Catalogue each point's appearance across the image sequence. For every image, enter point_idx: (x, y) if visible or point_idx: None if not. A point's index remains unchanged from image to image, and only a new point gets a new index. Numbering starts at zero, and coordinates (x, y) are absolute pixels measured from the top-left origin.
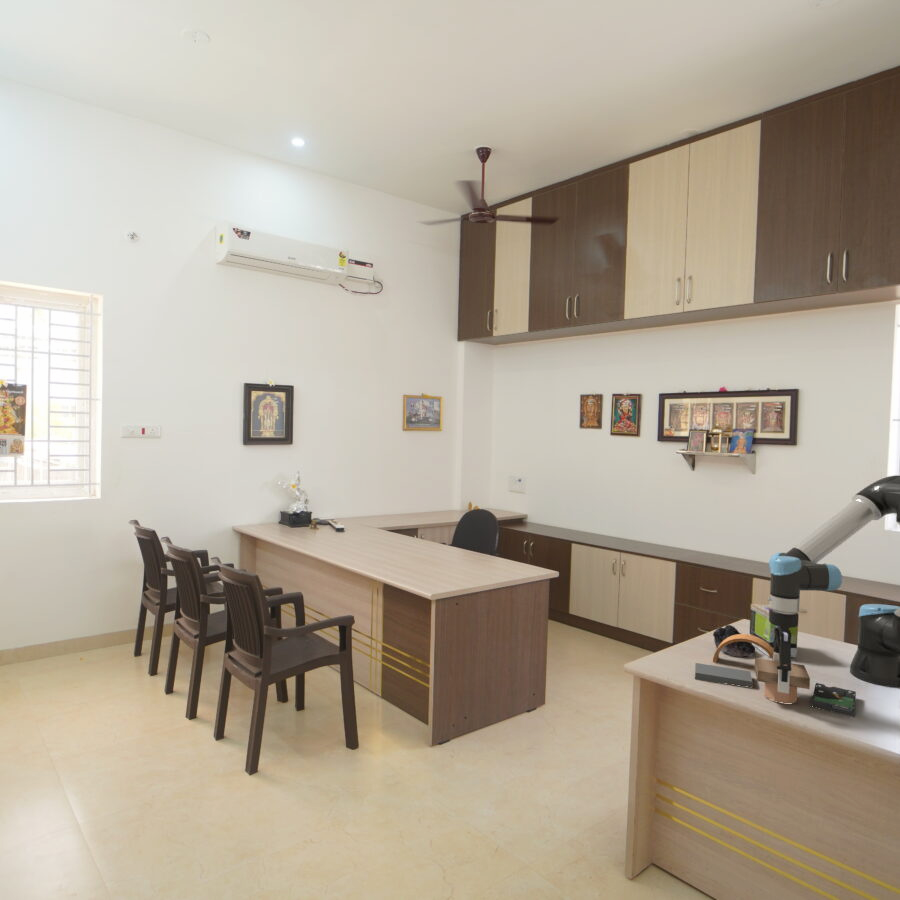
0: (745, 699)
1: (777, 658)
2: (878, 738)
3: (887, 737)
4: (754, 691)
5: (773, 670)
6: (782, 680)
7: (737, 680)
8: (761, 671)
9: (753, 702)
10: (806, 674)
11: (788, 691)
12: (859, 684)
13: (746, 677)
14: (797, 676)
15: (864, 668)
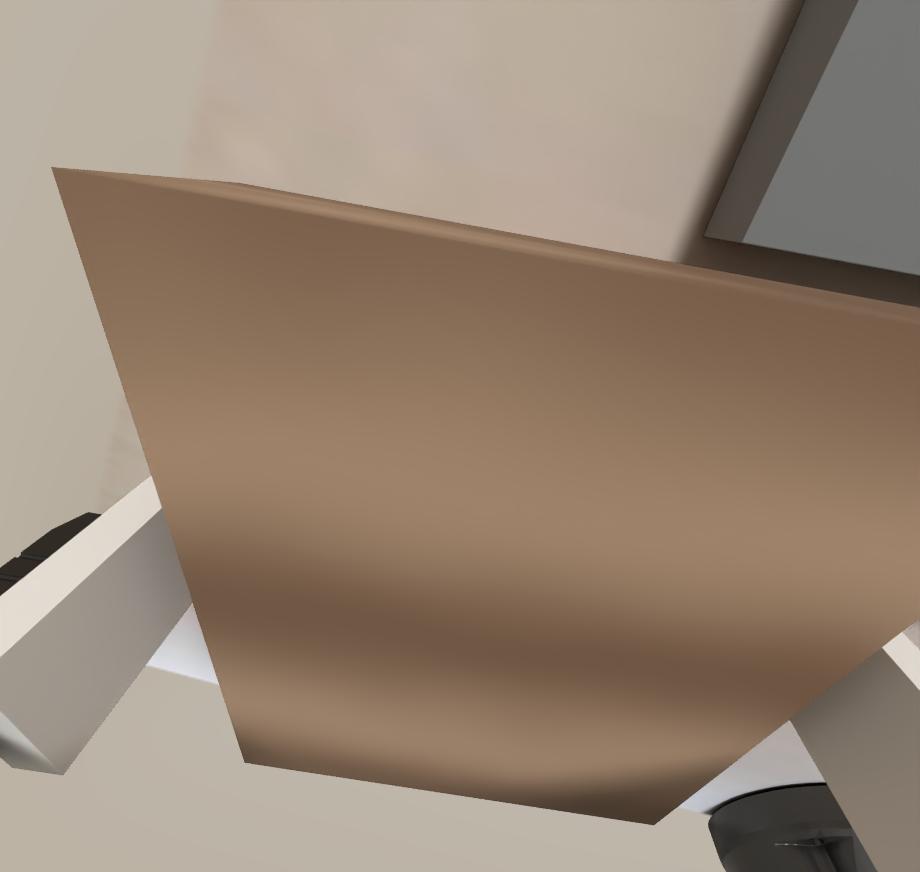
0: (371, 62)
1: (890, 743)
2: (183, 653)
3: (214, 675)
4: (620, 241)
5: (316, 538)
6: (63, 532)
7: (841, 10)
8: (97, 276)
9: (324, 151)
10: (358, 772)
11: None
12: (740, 767)
13: (897, 192)
14: (231, 708)
15: (830, 858)
